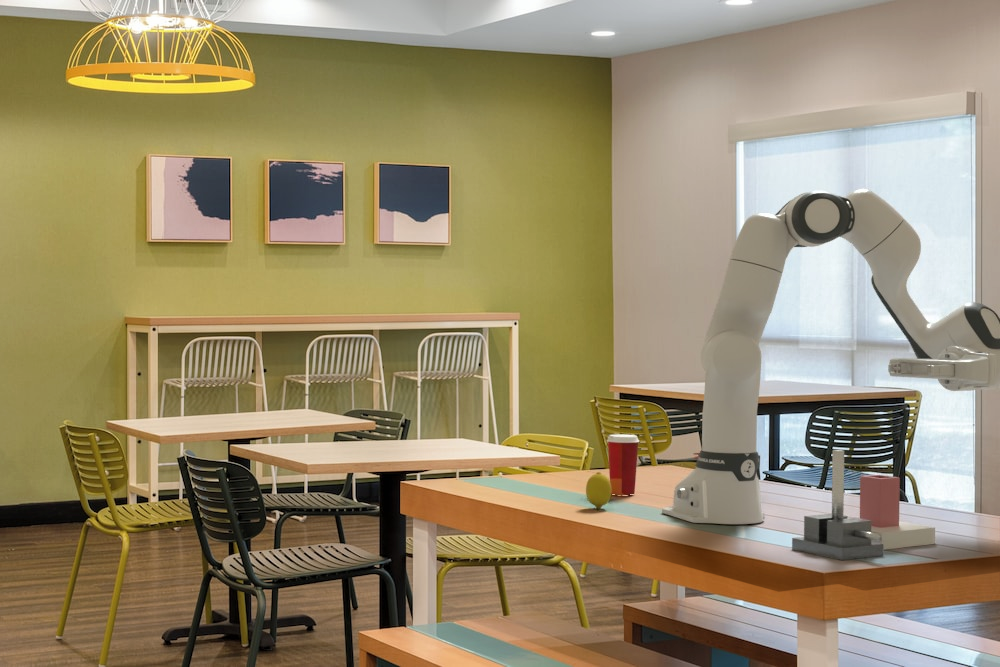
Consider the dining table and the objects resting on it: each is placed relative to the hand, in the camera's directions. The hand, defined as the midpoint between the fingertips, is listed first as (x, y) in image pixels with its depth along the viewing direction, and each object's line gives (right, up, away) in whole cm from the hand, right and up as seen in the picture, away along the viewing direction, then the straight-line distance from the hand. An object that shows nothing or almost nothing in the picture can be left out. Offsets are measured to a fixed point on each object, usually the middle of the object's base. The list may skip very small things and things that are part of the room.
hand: (910, 369), depth 237 cm
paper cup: (-50, -31, +53) cm, 80 cm away
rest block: (-8, -32, -7) cm, 34 cm away
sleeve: (-8, -29, -7) cm, 31 cm away
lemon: (-58, -31, +30) cm, 72 cm away
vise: (-18, -32, -21) cm, 42 cm away
